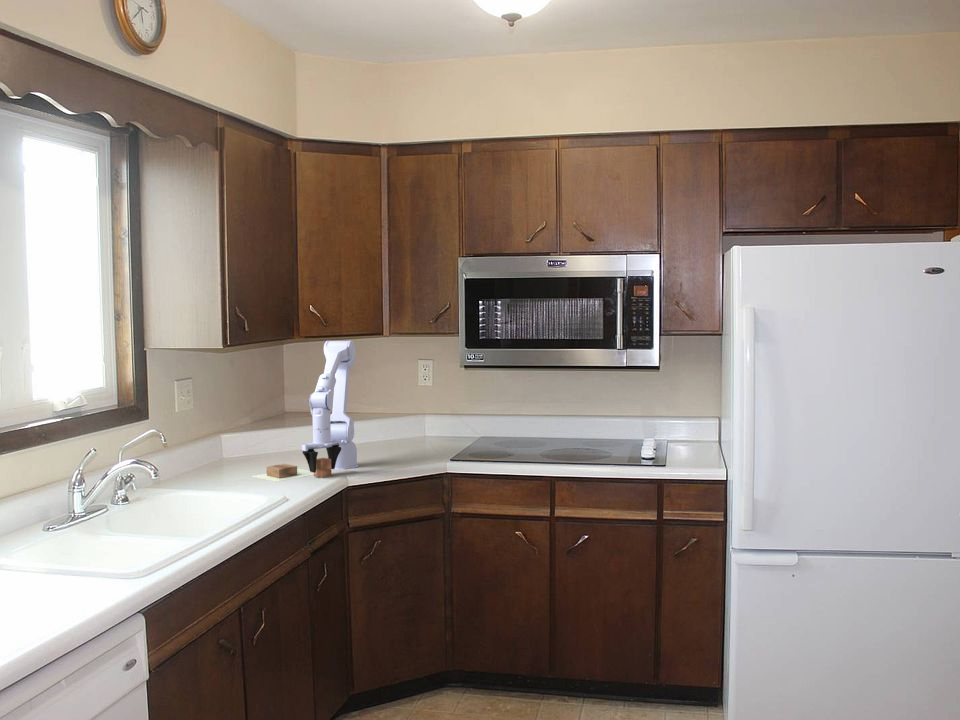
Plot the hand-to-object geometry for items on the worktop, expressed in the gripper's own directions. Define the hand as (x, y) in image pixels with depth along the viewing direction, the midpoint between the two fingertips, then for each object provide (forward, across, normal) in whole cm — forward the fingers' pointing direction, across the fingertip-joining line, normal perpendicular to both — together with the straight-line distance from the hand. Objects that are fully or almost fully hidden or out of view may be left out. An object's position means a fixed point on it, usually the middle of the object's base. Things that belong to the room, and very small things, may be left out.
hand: (322, 470), depth 269 cm
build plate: (+2, -6, +11) cm, 13 cm away
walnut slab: (+2, -8, +11) cm, 14 cm away
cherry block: (+2, 0, 0) cm, 2 cm away
